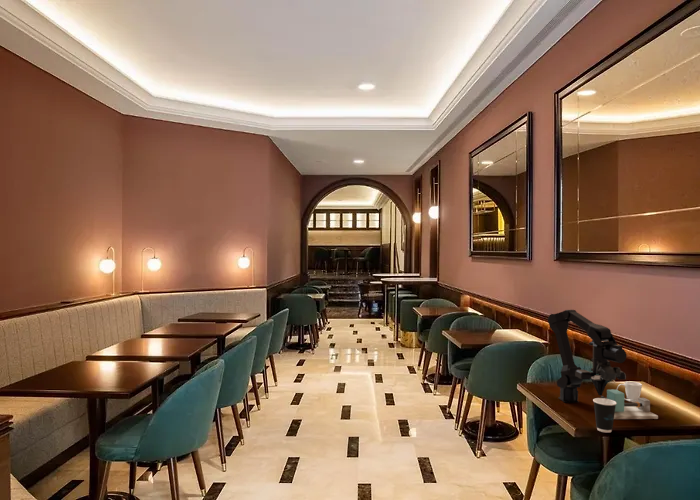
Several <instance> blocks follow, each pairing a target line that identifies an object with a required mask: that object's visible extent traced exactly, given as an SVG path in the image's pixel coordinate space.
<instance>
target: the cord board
mask: <svg viewBox="0 0 700 500" xmlns="http://www.w3.org/2000/svg"><path fill="white" fill-rule="evenodd" d="M600 398H605V399H607V397H605V396H604V395H600ZM653 419H654V420H658V419H659V415H657V414H655V413H653V412H651V400H649V399H647V398H645V397H639V398H638V402H624V412H615V414H614V420H653Z"/></svg>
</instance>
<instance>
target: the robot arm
mask: <svg viewBox="0 0 700 500" xmlns="http://www.w3.org/2000/svg"><path fill="white" fill-rule="evenodd" d="M570 322H571V323H573V324H574V325H576V326H577V327H579V328H580V329H582V330H583V331H585V332H586V334H587V336H588V337H589V338H590V339H591V341H590V342H589V343H588V345H589V346H592V358H590V359H591V360H590V361H591V362H592V367H591V368H590V371H589V370H586V369H582V368H581V367H580V366H577V364H575V359H574V356H573V351H572V348H571V345H570V340H569V335H568V329H569V327H570V325H569V323H570ZM547 323H548V326H549V328H550V330H551V331H552V332H553V333H554V334H555V339H556V342H557V346H558V350H559V355H560V359H561V363H562V367H561V369H560V376H561V377H559V379H557V381H556V385H557V387H558V388H559V396H558V398H557V399H559V400H560V401H562V402H563V403H567V404H568V403H569V404H570V403H573V404H574V403H579V402H580V401H579V391H578V388H581V386H582V383H583V380H587V381H588V380H589V381H590V380H591V381H592V384H593V386H594V387H595V390H596V392H597V394H598V396H603V393H604V391H605V389H606V386H607V385H608V383H611V382H613V381H616V378H617V379H618V380H627V379H626V378H627V376H626V373H625V372H624V371H622V370H621V368H620V367H619V366H614V367H612V365H611V362H615V363H618V364H623V363H624V362H625V361H626V359H627V353H626V351H625V349H624V348H623V345H620V344H619V345H618V343H617V341H616V339H615V338H614V336H613V334H612V330H611V329H610V328H609V327H607V326H604V325H601V324H597V323H595V322H593V321H591V320H590V319H588V318H587V317H585V316H584V315H582V314H580V313H579V312H578V311H576V309H565V310H563V311H560V312H557V313H550V314H549V316H548V318H547Z"/></svg>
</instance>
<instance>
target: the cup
mask: <svg viewBox="0 0 700 500" xmlns="http://www.w3.org/2000/svg"><path fill="white" fill-rule="evenodd" d="M620 386H623V387H624V388H625V395H626V398H625V397H624V401H627V402H628V403H635V402H638V398H641V392H642V387H643V384H642V383H640V382H639V381H630V380H629V381H627V380H626V381H624V383H619V384H618V385H617V387H616V390H618V389H619V387H620ZM618 391H619V390H618Z"/></svg>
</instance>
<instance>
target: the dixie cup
mask: <svg viewBox="0 0 700 500" xmlns="http://www.w3.org/2000/svg"><path fill="white" fill-rule="evenodd" d="M605 398H606V397H604V398H601V397H596V398H593V399H592V401H593V404H594V405H593V408H594V415H595V425H596V429H597V431H599V432H601V433H612V431H613V427H614V420H615V419H614V414H615V407H616V404H617V403H616V402H615V401H613V400H610V399H605Z"/></svg>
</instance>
